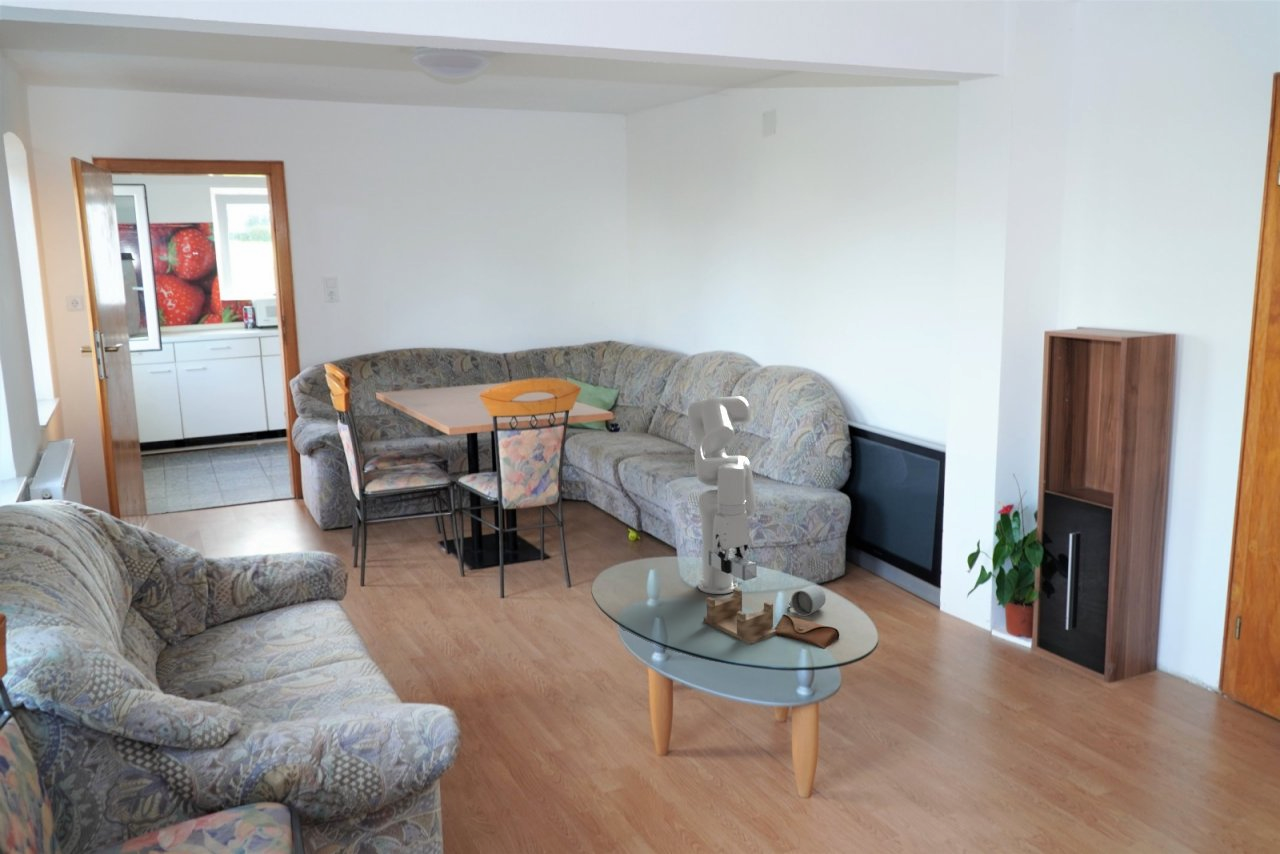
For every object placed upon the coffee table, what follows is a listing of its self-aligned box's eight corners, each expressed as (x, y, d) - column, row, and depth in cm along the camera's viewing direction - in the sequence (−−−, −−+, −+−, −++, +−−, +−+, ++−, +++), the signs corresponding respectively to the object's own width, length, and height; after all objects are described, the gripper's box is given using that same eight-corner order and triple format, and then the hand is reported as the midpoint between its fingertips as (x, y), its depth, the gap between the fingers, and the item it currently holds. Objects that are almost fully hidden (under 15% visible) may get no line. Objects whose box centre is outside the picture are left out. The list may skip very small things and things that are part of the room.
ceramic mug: (827, 609, 301) (827, 585, 300) (813, 619, 295) (812, 594, 294) (796, 602, 308) (796, 578, 306) (781, 610, 302) (781, 586, 300)
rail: (720, 561, 295) (719, 547, 294) (756, 577, 282) (756, 562, 281) (708, 564, 293) (708, 551, 292) (744, 580, 280) (744, 566, 279)
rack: (731, 611, 302) (731, 585, 300) (778, 633, 286) (778, 606, 284) (701, 621, 296) (701, 595, 294) (748, 645, 280) (748, 617, 278)
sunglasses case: (767, 633, 286) (773, 610, 288) (778, 637, 292) (784, 615, 293) (826, 649, 276) (832, 625, 277) (835, 653, 281) (841, 629, 283)
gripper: (745, 499, 291) (746, 560, 295) (699, 510, 282) (700, 573, 286) (763, 505, 285) (763, 567, 289) (716, 517, 276) (717, 581, 280)
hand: (732, 569), depth 288 cm, fingers closed on rail, 4 cm apart
